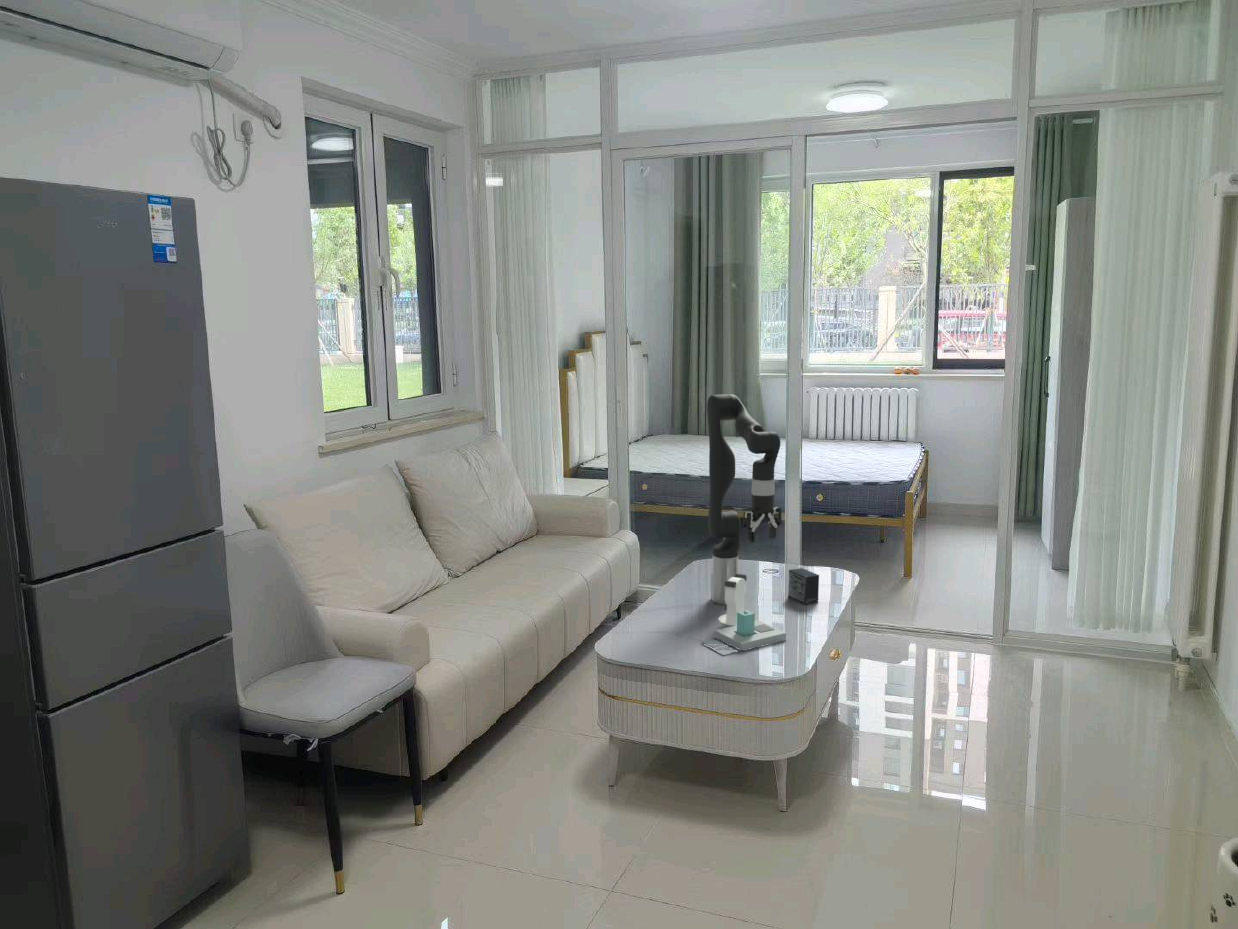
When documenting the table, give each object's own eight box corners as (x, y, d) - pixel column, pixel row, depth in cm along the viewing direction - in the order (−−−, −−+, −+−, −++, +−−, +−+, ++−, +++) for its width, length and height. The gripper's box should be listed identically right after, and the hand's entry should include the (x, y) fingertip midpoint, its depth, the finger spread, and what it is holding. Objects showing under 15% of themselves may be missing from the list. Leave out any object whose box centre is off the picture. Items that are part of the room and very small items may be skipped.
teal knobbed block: (736, 638, 301) (737, 610, 300) (746, 636, 303) (746, 608, 302) (744, 642, 298) (744, 614, 296) (754, 640, 300) (754, 611, 298)
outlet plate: (714, 637, 303) (714, 629, 303) (758, 627, 312) (758, 619, 312) (741, 651, 291) (741, 643, 291) (786, 640, 300) (786, 632, 300)
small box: (819, 602, 336) (820, 574, 335) (804, 605, 334) (805, 577, 332) (801, 594, 346) (802, 567, 344) (787, 597, 343) (788, 569, 341)
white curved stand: (726, 612, 327) (727, 571, 325) (757, 617, 322) (757, 575, 319) (713, 622, 317) (713, 580, 314) (744, 628, 312) (745, 584, 309)
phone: (723, 657, 288) (723, 654, 288) (700, 645, 298) (700, 642, 298) (738, 653, 291) (738, 650, 291) (716, 642, 301) (716, 638, 301)
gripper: (772, 487, 311) (771, 534, 314) (738, 492, 304) (737, 540, 307) (787, 491, 304) (786, 539, 307) (752, 497, 297) (751, 546, 300)
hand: (762, 540), depth 307 cm, fingers open, 8 cm apart
